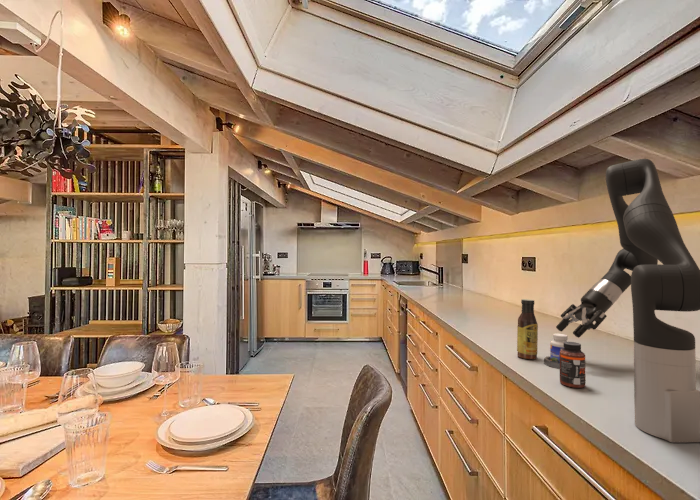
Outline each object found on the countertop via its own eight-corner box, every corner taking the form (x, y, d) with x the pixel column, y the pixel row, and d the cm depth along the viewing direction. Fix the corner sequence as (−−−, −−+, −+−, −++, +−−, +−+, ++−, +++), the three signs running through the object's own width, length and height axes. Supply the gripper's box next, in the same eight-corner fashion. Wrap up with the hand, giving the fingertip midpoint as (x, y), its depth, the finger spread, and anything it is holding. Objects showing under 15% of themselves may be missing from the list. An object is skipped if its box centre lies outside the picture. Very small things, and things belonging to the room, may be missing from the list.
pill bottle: (546, 362, 114) (546, 333, 115) (562, 362, 115) (562, 332, 115) (557, 368, 109) (557, 336, 109) (574, 367, 109) (573, 336, 110)
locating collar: (579, 369, 108) (579, 363, 108) (554, 369, 108) (554, 363, 108) (563, 361, 116) (563, 356, 116) (539, 361, 116) (539, 356, 116)
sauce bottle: (528, 361, 116) (528, 301, 116) (513, 356, 122) (512, 299, 122) (542, 358, 119) (541, 300, 119) (526, 354, 124) (525, 298, 125)
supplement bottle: (584, 390, 91) (584, 347, 91) (558, 385, 94) (557, 343, 94) (586, 384, 95) (586, 342, 96) (561, 379, 99) (560, 339, 99)
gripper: (578, 286, 120) (545, 320, 119) (609, 290, 106) (573, 328, 105) (593, 301, 120) (560, 335, 119) (627, 308, 106) (590, 346, 105)
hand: (566, 332), depth 112 cm, fingers open, 8 cm apart
